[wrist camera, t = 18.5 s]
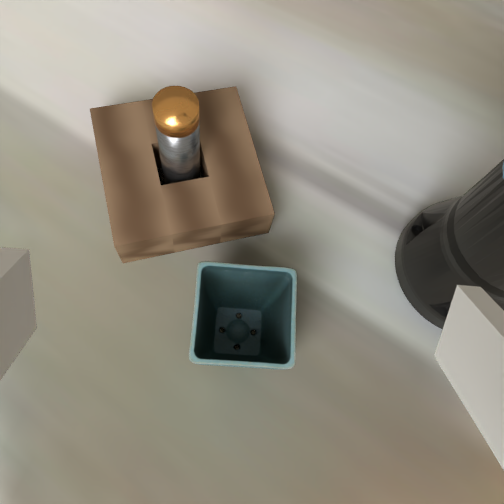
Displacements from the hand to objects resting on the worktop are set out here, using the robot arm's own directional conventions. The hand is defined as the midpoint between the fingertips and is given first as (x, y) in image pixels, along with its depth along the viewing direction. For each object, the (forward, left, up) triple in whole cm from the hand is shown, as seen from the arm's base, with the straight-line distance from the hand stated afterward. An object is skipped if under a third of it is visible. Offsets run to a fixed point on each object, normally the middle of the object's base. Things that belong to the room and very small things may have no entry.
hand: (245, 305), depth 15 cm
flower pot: (-3, -5, -34) cm, 34 cm away
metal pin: (-1, -23, -34) cm, 41 cm away
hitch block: (-1, -23, -34) cm, 41 cm away
